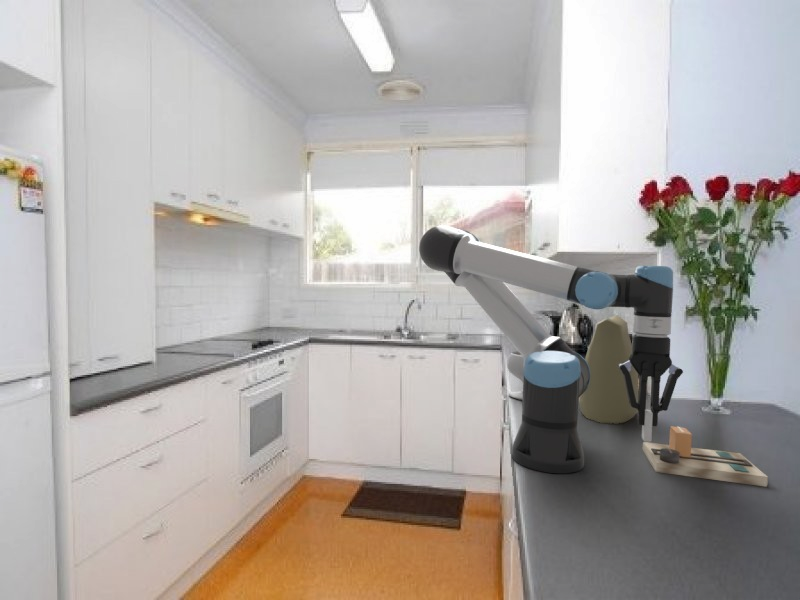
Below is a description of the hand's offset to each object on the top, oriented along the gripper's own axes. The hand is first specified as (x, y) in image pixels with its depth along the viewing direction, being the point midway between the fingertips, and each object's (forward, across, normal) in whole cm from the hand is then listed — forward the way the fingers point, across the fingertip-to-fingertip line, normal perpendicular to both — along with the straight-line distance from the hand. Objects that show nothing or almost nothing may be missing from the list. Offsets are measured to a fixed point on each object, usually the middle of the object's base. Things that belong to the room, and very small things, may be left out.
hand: (646, 439), depth 108 cm
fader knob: (+2, +7, 0) cm, 7 cm away
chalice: (+5, -27, +50) cm, 58 cm away
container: (+5, -3, +39) cm, 40 cm away
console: (+5, +11, 0) cm, 12 cm away
